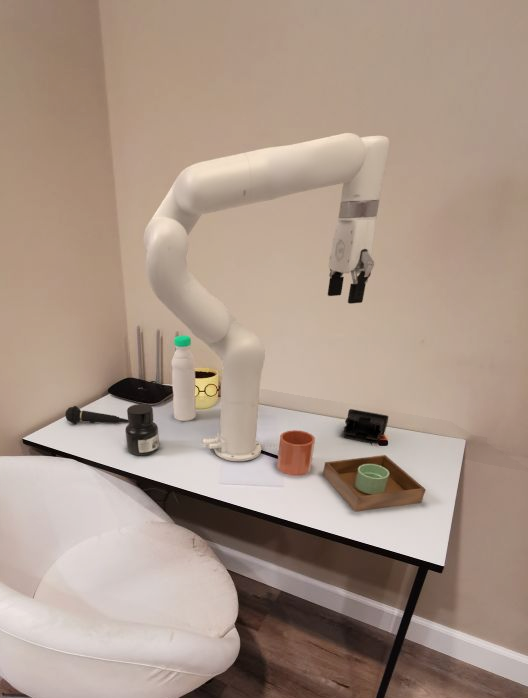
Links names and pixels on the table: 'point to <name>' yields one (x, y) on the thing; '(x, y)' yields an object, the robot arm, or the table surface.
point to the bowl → (371, 479)
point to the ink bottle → (141, 430)
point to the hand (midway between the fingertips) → (344, 299)
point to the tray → (396, 494)
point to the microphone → (90, 416)
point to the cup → (295, 452)
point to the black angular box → (365, 426)
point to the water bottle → (183, 380)
